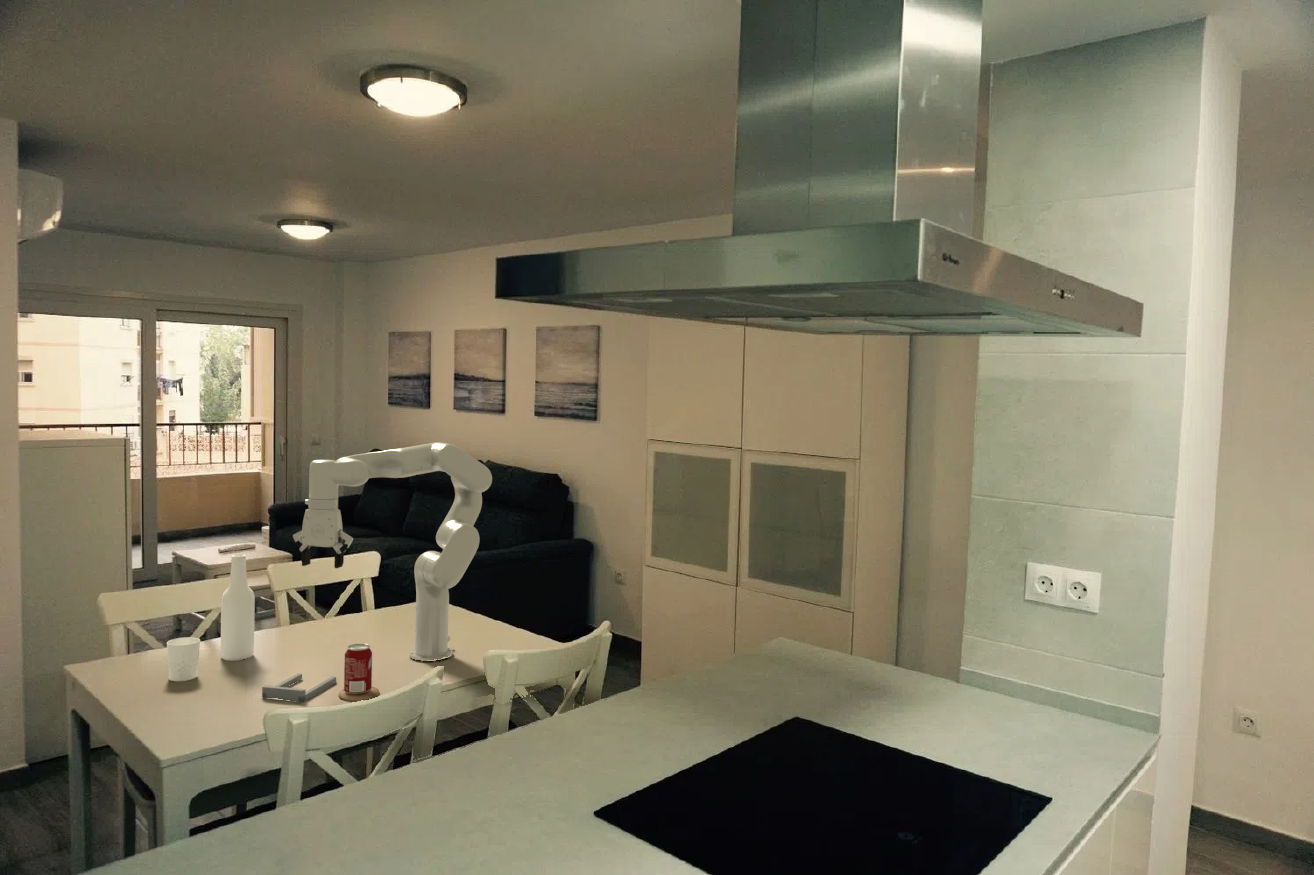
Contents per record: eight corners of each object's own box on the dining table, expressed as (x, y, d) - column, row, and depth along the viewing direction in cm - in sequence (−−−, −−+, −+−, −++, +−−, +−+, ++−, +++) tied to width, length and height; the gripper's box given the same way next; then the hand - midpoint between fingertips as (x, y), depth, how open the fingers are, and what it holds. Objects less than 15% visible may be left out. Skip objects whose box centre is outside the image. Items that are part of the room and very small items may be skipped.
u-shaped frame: (298, 678, 234) (298, 667, 234) (336, 682, 233) (336, 671, 233) (262, 698, 219) (262, 686, 219) (302, 702, 217) (302, 690, 217)
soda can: (366, 696, 221) (367, 650, 220) (340, 695, 221) (340, 649, 220) (374, 688, 228) (375, 643, 227) (349, 687, 228) (350, 642, 227)
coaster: (350, 686, 230) (350, 684, 230) (385, 689, 228) (385, 687, 228) (330, 699, 220) (330, 696, 220) (367, 702, 218) (367, 700, 218)
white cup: (165, 683, 227) (166, 646, 226) (166, 675, 234) (167, 638, 233) (199, 680, 231) (199, 643, 230) (199, 671, 238) (200, 635, 237)
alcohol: (213, 659, 249) (214, 556, 247) (235, 651, 257) (237, 551, 256) (238, 662, 246) (240, 559, 245) (260, 654, 255) (262, 554, 253)
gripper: (286, 504, 234) (285, 566, 235) (345, 508, 232) (344, 570, 232) (302, 501, 242) (301, 561, 243) (359, 504, 239) (358, 565, 240)
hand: (322, 566), depth 238 cm, fingers open, 9 cm apart
